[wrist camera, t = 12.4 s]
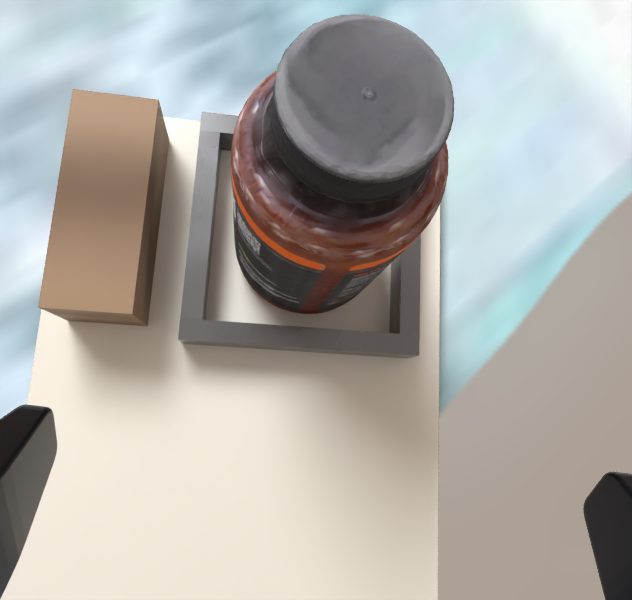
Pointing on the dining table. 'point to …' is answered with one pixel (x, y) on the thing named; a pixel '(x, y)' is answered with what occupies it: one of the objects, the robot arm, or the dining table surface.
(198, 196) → the gray square frame
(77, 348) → the cream flat board
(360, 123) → the supplement bottle
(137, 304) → the walnut wall block
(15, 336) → the dining table surface
